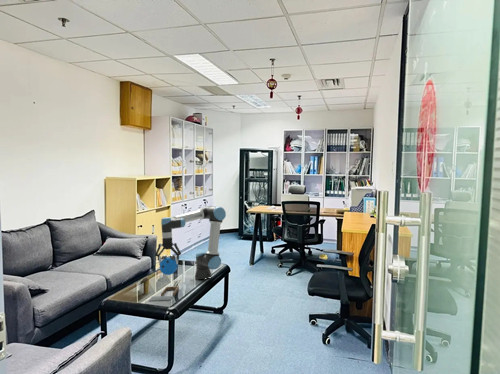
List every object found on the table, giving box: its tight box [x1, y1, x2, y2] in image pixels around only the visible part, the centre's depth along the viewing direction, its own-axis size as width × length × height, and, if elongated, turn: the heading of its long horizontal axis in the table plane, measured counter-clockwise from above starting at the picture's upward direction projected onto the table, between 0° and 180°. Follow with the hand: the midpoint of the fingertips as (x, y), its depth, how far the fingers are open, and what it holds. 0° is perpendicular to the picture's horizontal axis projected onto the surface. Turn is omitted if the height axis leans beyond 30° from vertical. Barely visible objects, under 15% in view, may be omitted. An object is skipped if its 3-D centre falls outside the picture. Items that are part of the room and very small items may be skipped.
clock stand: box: [160, 286, 180, 297], centre depth 262 cm, size 10×15×2 cm, turn 178°
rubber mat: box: [148, 295, 174, 302], centre depth 250 cm, size 16×8×1 cm, turn 88°
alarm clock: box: [159, 254, 179, 276], centre depth 261 cm, size 13×6×15 cm, turn 89°
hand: (168, 264), depth 261 cm, fingers closed on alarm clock, 13 cm apart
